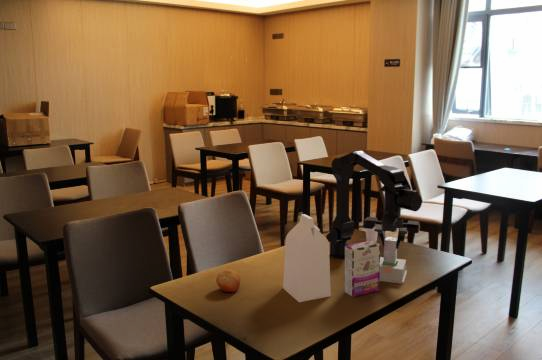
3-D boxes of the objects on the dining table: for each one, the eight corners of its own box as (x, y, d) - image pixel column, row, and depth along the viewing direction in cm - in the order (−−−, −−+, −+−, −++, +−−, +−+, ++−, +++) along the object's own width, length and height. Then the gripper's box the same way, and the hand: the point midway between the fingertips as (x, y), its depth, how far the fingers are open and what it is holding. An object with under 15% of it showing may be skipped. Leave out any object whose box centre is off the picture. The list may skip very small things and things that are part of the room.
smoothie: (380, 246, 216) (381, 214, 214) (365, 247, 216) (365, 214, 214) (377, 242, 223) (378, 210, 220) (362, 242, 223) (363, 210, 220)
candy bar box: (370, 285, 177) (371, 239, 174) (379, 291, 173) (381, 243, 169) (343, 292, 172) (344, 244, 169) (352, 297, 168) (353, 249, 164)
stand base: (371, 280, 182) (371, 266, 181) (376, 268, 192) (376, 256, 191) (403, 284, 178) (404, 270, 177) (407, 272, 188) (407, 259, 187)
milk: (283, 288, 175) (282, 213, 170) (313, 282, 180) (314, 210, 175) (298, 302, 165) (299, 223, 159) (330, 296, 169) (332, 219, 164)
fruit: (246, 280, 178) (241, 266, 173) (239, 300, 173) (233, 285, 168) (224, 278, 181) (219, 263, 176) (217, 296, 175) (211, 282, 170)
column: (382, 265, 183) (383, 240, 181) (384, 261, 187) (385, 236, 185) (395, 267, 182) (396, 241, 180) (396, 263, 186) (398, 237, 184)
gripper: (361, 208, 176) (359, 252, 179) (418, 213, 169) (415, 258, 172) (367, 201, 186) (365, 242, 189) (421, 205, 180) (418, 248, 183)
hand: (390, 248), depth 183 cm, fingers closed on column, 4 cm apart
